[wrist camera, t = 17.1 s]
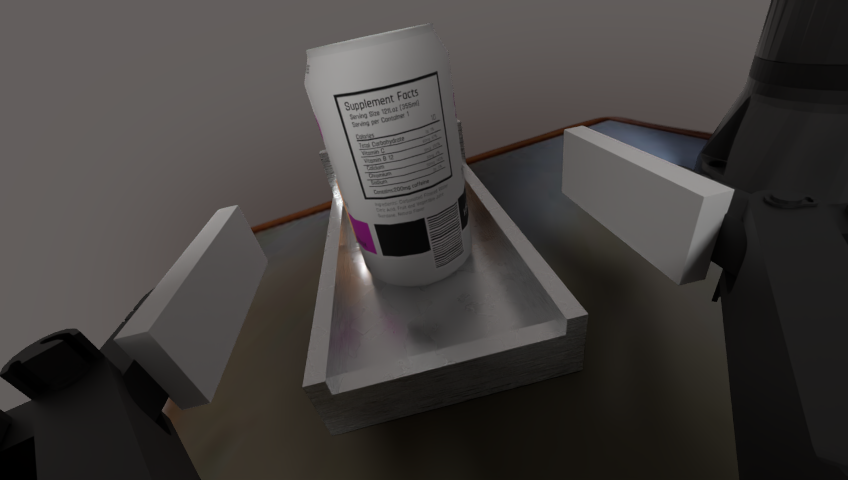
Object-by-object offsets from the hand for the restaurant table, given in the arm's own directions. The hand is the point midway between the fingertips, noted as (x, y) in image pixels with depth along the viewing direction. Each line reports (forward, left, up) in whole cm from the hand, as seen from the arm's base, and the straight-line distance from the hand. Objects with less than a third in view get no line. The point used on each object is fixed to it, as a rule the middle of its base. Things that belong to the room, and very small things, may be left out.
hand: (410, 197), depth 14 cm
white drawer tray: (-3, -8, -10) cm, 13 cm away
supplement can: (-3, -9, -10) cm, 13 cm away
